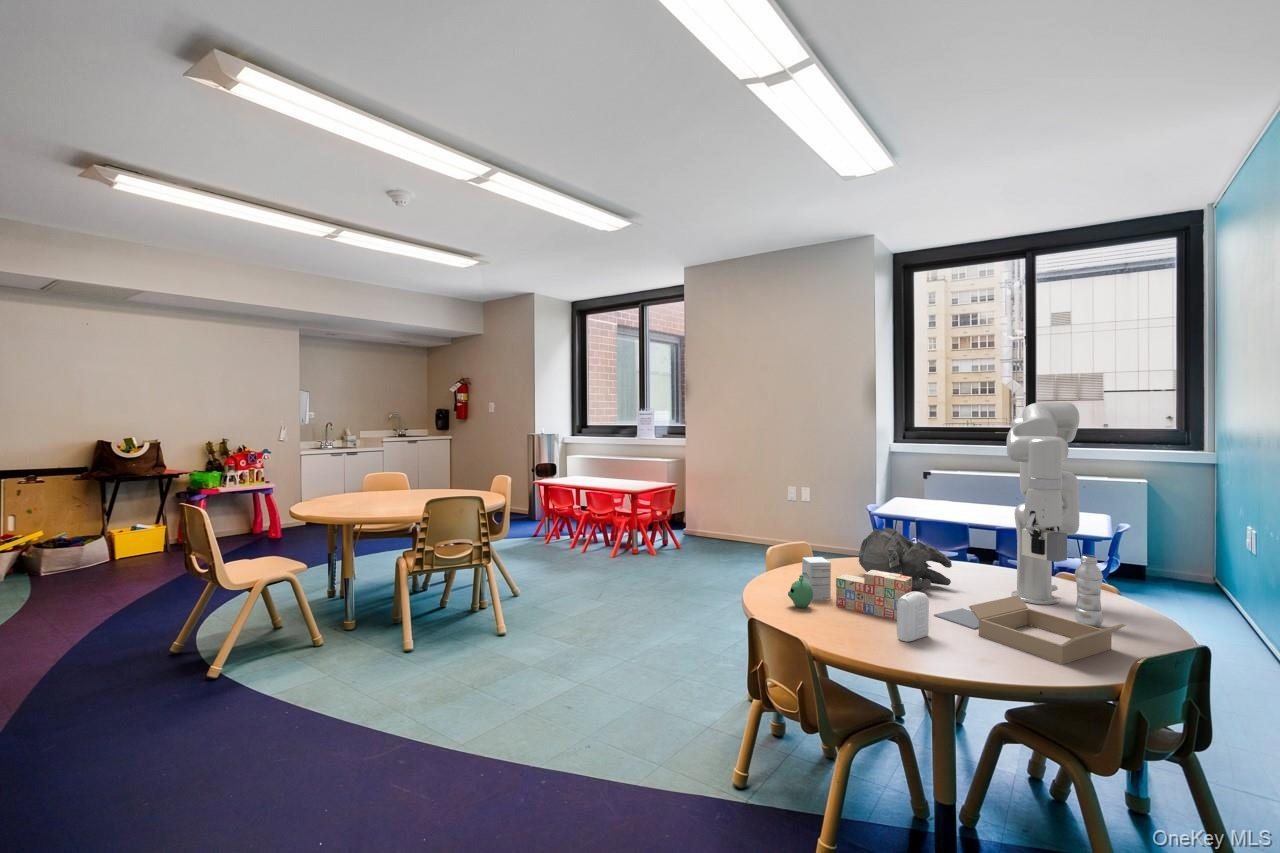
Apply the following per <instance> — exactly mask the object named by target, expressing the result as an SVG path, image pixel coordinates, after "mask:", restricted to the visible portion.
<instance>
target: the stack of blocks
mask: <svg viewBox="0 0 1280 853" xmlns="http://www.w3.org/2000/svg"><path fill="white" fill-rule="evenodd" d="M835 587H836V592H835V594H836V595H835V597H836V600H835V604H836V605H835V606H836V607H840V608H843V609H847V610H852V611H856V612H860V613H866V614H869V615H873V614H874V616H879V617H883V618H886V617H887V619H891V618H892V620H895V619H896V621H897V602H898V600H899V599H900V598H901V597H902V596H903V595H905V594H907V593H910V592H913V591H912V577H908V576H903V575H901V574H895V573H888V572H881V571H876V570H870V571H868V572H864V576H862V577H861V576H856V575H852V574H846V573H845V574H842V575H840V576H838V577H836V578H835Z"/></svg>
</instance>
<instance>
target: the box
mask: <svg viewBox="0 0 1280 853" xmlns="http://www.w3.org/2000/svg"><path fill="white" fill-rule="evenodd" d="M1036 530H1037V529H1036ZM1037 531H1038V532H1039V531H1040V530H1037ZM1043 540H1045V554H1044V555H1039V554H1034V553H1032V552H1031V538H1030V534H1029V532H1028V531H1027V530H1026V529H1022V555H1025V556H1030V557H1035V558H1040V559H1044V560H1049V561H1052V562H1055V563H1059V562H1064V561H1067V560H1068V535H1067V533H1061V532H1055V531H1050V530H1044V536H1043Z"/></svg>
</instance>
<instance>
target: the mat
mask: <svg viewBox="0 0 1280 853" xmlns="http://www.w3.org/2000/svg"><path fill="white" fill-rule="evenodd" d="M933 616H934V617H937V618H939V619H942V620H945V621H948V622H951V623H953V624H958V625H960V626H963V627H966V628H968V629H972V630H976V629H978V630H979V620H978V619H977V618H976V616H975V615H974V614H973V612H972V611H971V609H970V610H969V609H966V608H957V609H953V610H948V611H944V612H939V613H935V614H933Z"/></svg>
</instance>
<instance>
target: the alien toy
mask: <svg viewBox="0 0 1280 853" xmlns="http://www.w3.org/2000/svg"><path fill="white" fill-rule="evenodd" d="M803 577H804V576H803V575H802V574H800V575H798V579H797V580H796V581H794V582H793V583H792V584H791V586H790V590H788V592H787V596H788V597H789V598H790V600H791V601H792V604H793V605H794V606H796V607H798V608H800V609H804V608H807V607H808V606H809V605H811V603H812V601H813V600H812V598H813V591H812V588H811V586H810V584H809V583H808V582H806V581H803V580H804V579H803Z"/></svg>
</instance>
